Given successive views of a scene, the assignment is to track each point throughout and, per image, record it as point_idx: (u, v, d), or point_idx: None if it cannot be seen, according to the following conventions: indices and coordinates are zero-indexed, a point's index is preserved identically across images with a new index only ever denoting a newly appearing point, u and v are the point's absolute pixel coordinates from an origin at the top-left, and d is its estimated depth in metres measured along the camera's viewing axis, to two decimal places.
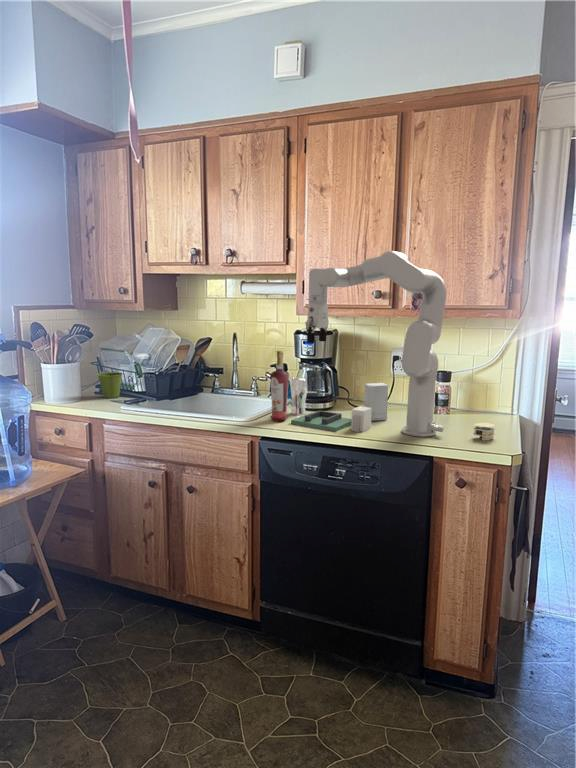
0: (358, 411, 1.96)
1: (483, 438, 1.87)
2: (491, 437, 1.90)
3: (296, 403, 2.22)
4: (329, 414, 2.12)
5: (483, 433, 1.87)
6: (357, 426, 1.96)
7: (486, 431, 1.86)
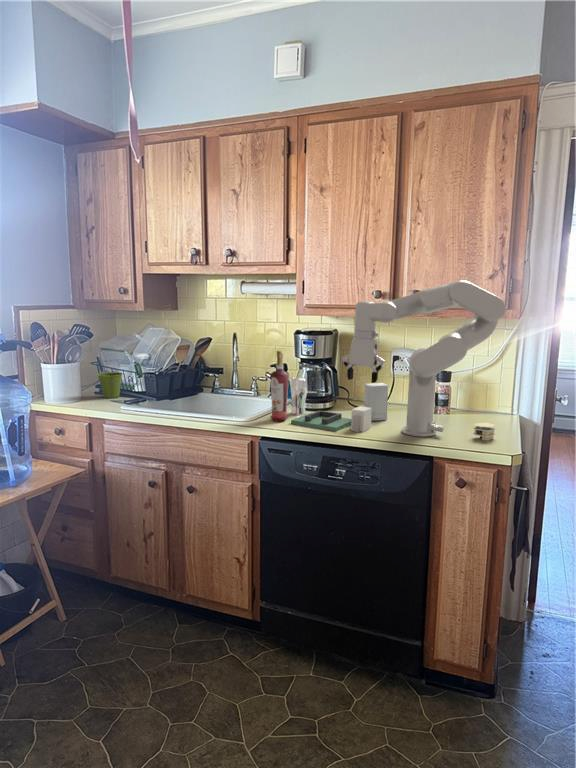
0: (358, 411, 1.96)
1: (483, 438, 1.87)
2: (491, 437, 1.90)
3: (296, 403, 2.22)
4: (329, 414, 2.12)
5: (483, 433, 1.87)
6: (357, 426, 1.96)
7: (486, 431, 1.87)
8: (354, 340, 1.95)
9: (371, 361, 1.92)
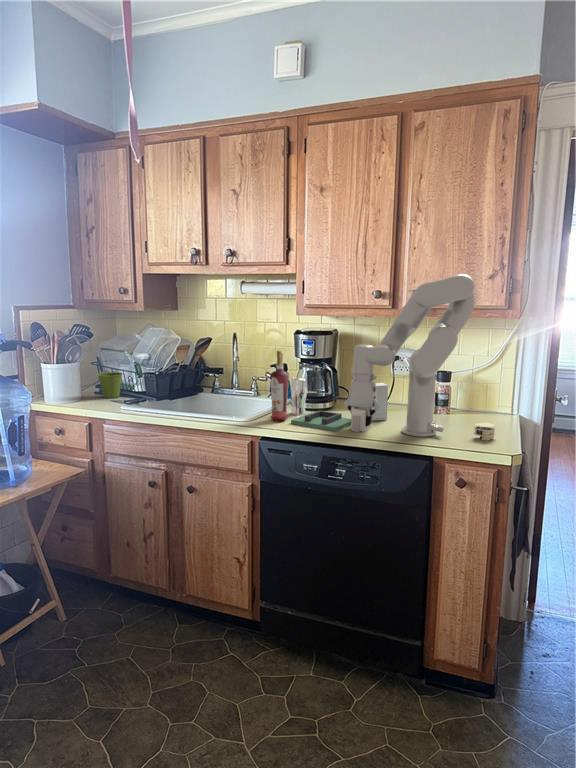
0: (358, 411, 1.96)
1: (483, 438, 1.88)
2: (492, 437, 1.90)
3: (296, 403, 2.22)
4: (329, 414, 2.12)
5: (483, 433, 1.87)
6: (357, 426, 1.96)
7: (486, 431, 1.87)
8: (353, 382, 1.97)
9: (370, 404, 1.95)
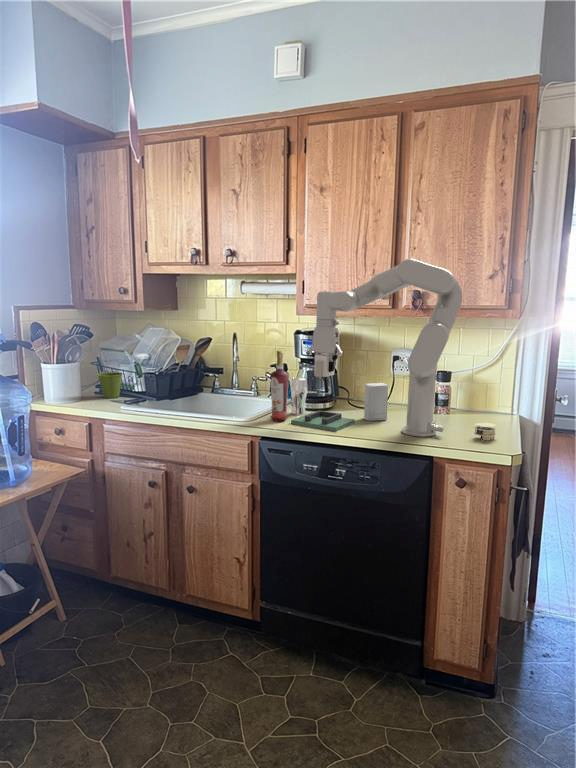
0: (321, 356, 2.01)
1: (484, 438, 1.88)
2: (492, 437, 1.90)
3: (296, 403, 2.22)
4: (329, 414, 2.12)
5: (484, 433, 1.88)
6: (320, 371, 2.00)
7: (487, 431, 1.87)
8: (316, 329, 2.02)
9: (332, 349, 1.99)
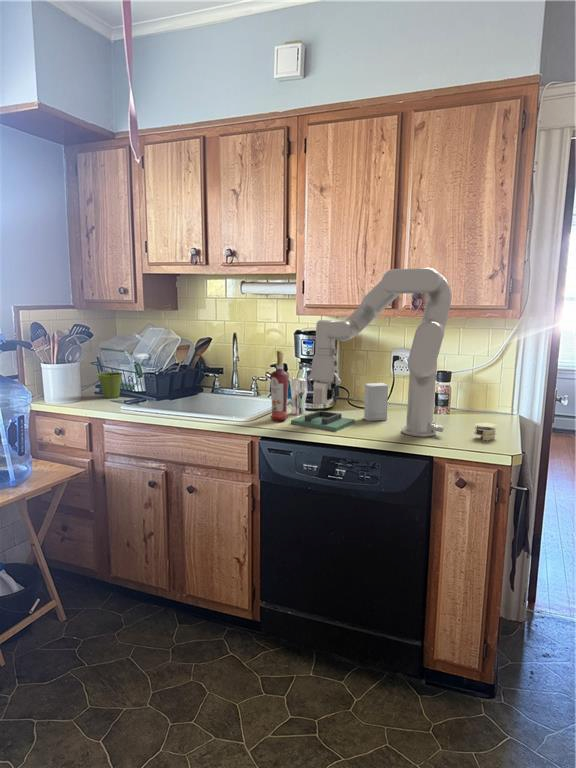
0: (319, 384, 2.02)
1: (484, 438, 1.88)
2: (492, 437, 1.90)
3: (296, 403, 2.22)
4: (329, 414, 2.12)
5: (484, 433, 1.88)
6: (318, 399, 2.02)
7: (487, 431, 1.87)
8: (315, 357, 2.03)
9: (331, 377, 2.01)
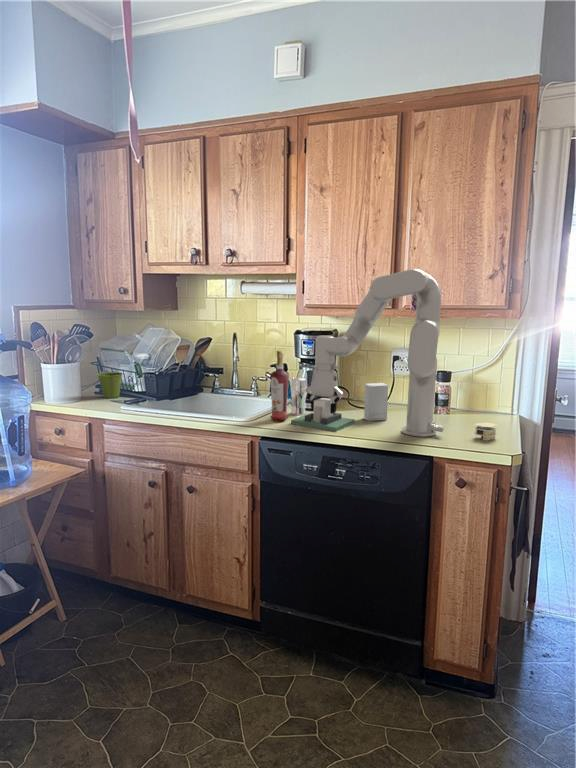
0: (320, 402, 2.04)
1: (484, 438, 1.88)
2: (493, 437, 1.90)
3: (296, 403, 2.22)
4: None
5: (484, 433, 1.88)
6: (318, 417, 2.03)
7: (487, 431, 1.87)
8: (315, 372, 2.04)
9: (331, 393, 2.02)
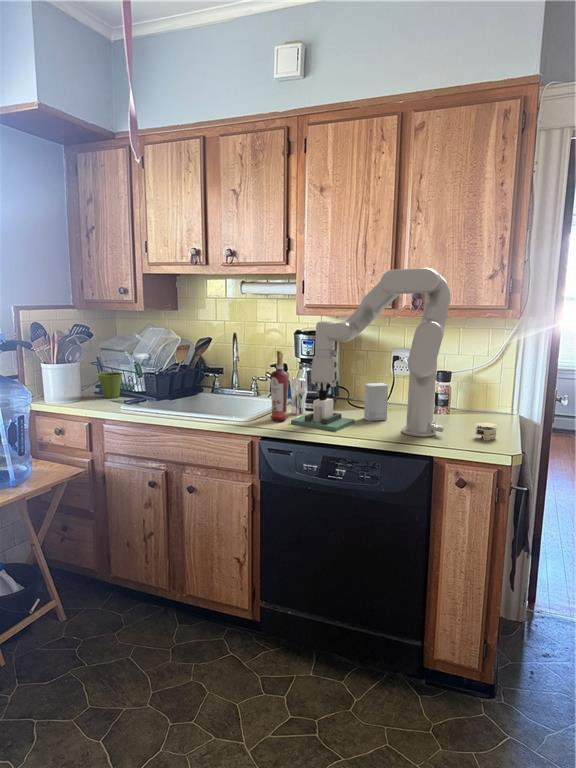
0: (319, 402, 2.04)
1: (484, 438, 1.88)
2: (493, 437, 1.90)
3: (296, 403, 2.22)
4: None
5: (484, 433, 1.88)
6: (318, 416, 2.03)
7: (487, 431, 1.87)
8: (315, 358, 2.04)
9: (330, 379, 2.01)
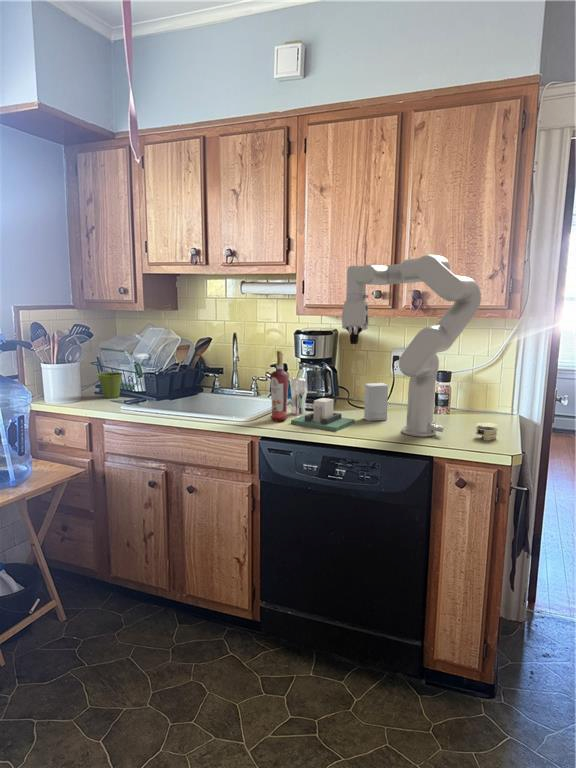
0: (320, 402, 2.04)
1: (484, 438, 1.88)
2: (494, 437, 1.90)
3: (296, 403, 2.22)
4: None
5: (485, 433, 1.88)
6: (318, 417, 2.03)
7: (487, 431, 1.87)
8: (346, 302, 2.07)
9: (362, 322, 2.05)
